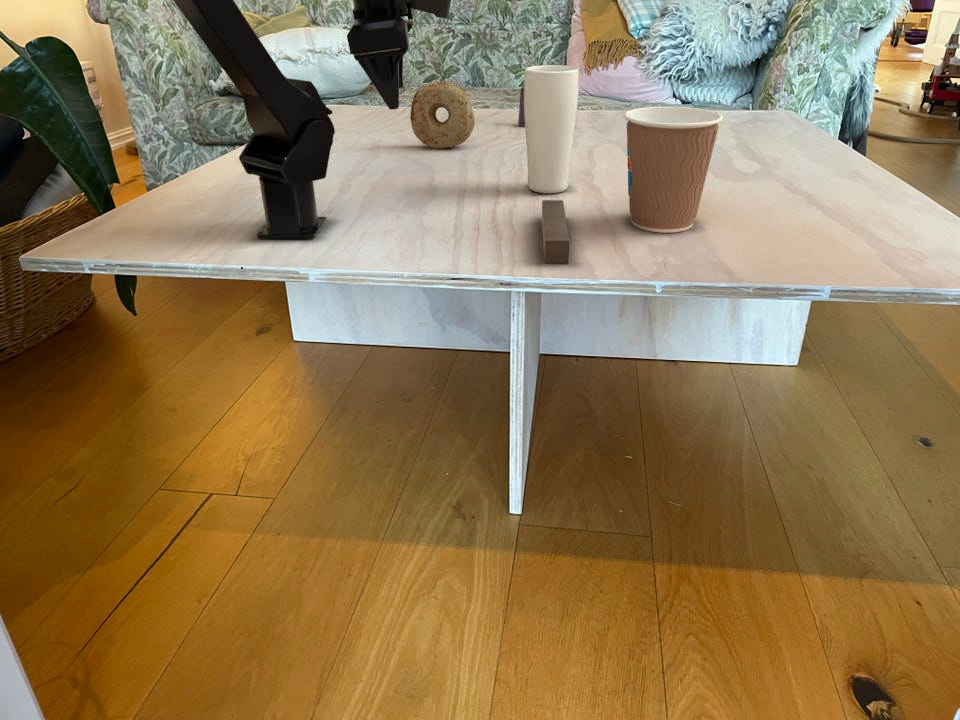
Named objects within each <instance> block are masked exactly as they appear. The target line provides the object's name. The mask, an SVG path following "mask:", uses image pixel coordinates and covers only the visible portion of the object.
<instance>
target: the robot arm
mask: <svg viewBox="0 0 960 720" xmlns="http://www.w3.org/2000/svg"><path fill="white" fill-rule="evenodd" d="M172 1H173V2H174V4H175V5H176V7H177V8H178V9H179V11H180V13H182V15H183V16H184V18H185V19H186V21H187V22H188V23H189V24H190V26H191V27H192V29H193V30H194V31H195V33H196V34H197V36H198V37H199V38H200V40H201V41H202V42H203V44H204V45H205V47H206V48H207V49H208V50H209V52H210V53H211V54H212V56H213V57H214V59H215V60H216V62H217V63H218V64H219V66H220V67H221V68H222V69H223V71H224V72H225V74H226V75H227V76H228V78H229V79H230V80H231V83H233V85H234V86H235V87H236V89H237V90H238V91H239V93H240V95H241V97H242V99H243V103H244V104H243V105H244V111H245V115H246V119H247V122H248V124H249V125H250V127H251V130H252V131H253V134H252V135H251V136H250V138H249V140H248V141H247V142H246V144H245V146H244V148H243V149H242V151H241V152H240V155H239V157H238V160H239V162H240V163H241V166H242V168H243V169H244V171H245V174H248V175H253V176H257V177H258V181H259V187H260V193H261V200H262V207H263V213H264V219H265V224H264V225H263V226H262V228H260V229H259V230H258V231H257V233H256V238H257V239H315V238H316V236H317V235H318V234H319V233H320V231H322V229H323V227H324V226H325V225H326V223H327V222H328V217H327V216H318V212H317V203H316V195H315V194H316V193H315V188H314V182H315V181H318V180H319V181H320V180H324V179H326V177H327V172H328V166H329V161H330V155H331V150H332V146H333V143H334V136H335V134H336V129H335V126H334V123H333V121H332V119H331V117H330V116H329V115H332V114H333V110H332V109H331V108H329V107H328V106H327V105H325V103H324V102H323V100H322V98H321V96H320V93H319V91H318V89H317V87H316V86H315V85H314V83H313V82H312V81H310V80H304V79H296V78H290V77H289V78H288V77H286V75H284V74H283V72H282V71H281V70H280V68H279V66H278V64H276V62H275V60H274V59H273V57H272V56H271V54H270V53H269V51H268V50H267V49H266V47H265V46H264V43H262V41H261V40H260V38H259V36H258V35H257V33H256V32H255V30H254V29H253V27H252V26H251V24H250V23H249V21H248V20H247V19H246V17H245V15H244V13H243V12H242V11H241V9H240V7H239V6H238V5H237V4H236V2H235V0H172ZM352 2H353V9H352V10H351V11H352V16H353V21H354V22H353V24H352V26H351V27H350V29H349V30H348V33H347V34H346V40H347V44H348V45H347V46H348V48H349V49H348V50H349V54H350V55H353V58H354V60H355V61H357V63H358V64H359V66H360V67H361V69H362V70H363V72H364V73H365V74H366V76H367V77H368V79H369V80H370V82H371V84H372V85H373V86H374V88H375V90H376V91H377V92H378V94H379V96H380V97H381V99H382V100H383V102H384V103H385V105H386V107H387V108H388V109H389V110H390V111H391V110H397V109H399V107H400V89H401V88H403V85H404V56H405V55H406V54H407V52H408V51H409V48H410V36H409V32H410V31H411V30H412V28H413V25H414V17H415V13H414V11H415V10H416V11H420V12H423V13H428V14H432V15H434V16H435V17H436V18H440V19H448V18H449V15H450V10H451V4H452V0H352ZM403 17H407V20H405V19H404V18H403Z"/></svg>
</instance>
